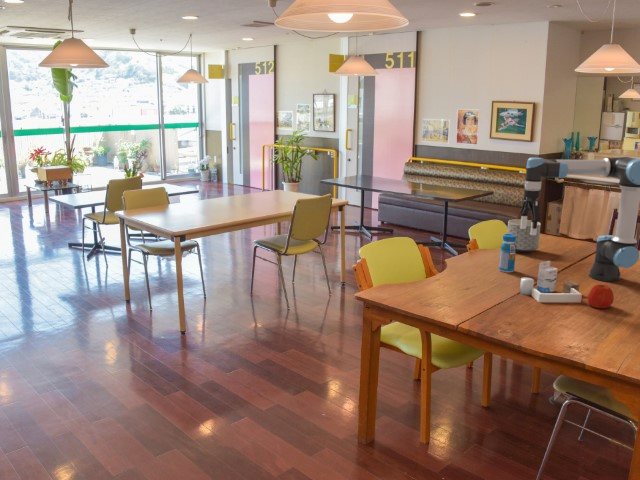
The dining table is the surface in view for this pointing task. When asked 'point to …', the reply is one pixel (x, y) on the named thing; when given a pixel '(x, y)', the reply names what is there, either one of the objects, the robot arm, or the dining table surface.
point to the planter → (524, 235)
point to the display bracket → (557, 296)
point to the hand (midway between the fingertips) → (528, 231)
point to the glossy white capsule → (526, 286)
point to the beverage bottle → (507, 253)
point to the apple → (600, 296)
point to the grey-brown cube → (569, 285)
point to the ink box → (546, 278)
